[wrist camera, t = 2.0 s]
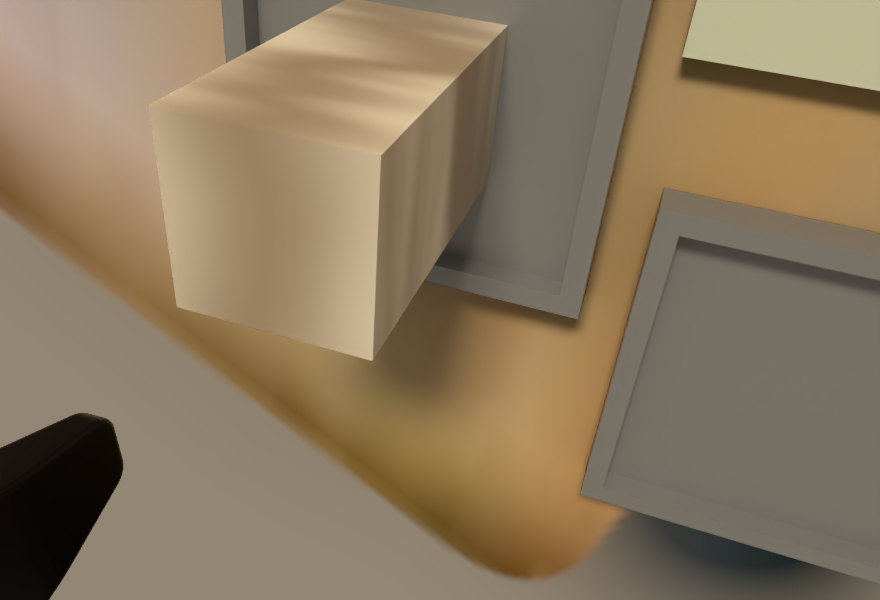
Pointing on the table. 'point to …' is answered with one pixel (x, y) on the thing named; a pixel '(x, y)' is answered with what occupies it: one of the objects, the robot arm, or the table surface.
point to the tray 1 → (522, 137)
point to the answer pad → (791, 38)
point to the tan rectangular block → (327, 170)
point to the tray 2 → (750, 384)
